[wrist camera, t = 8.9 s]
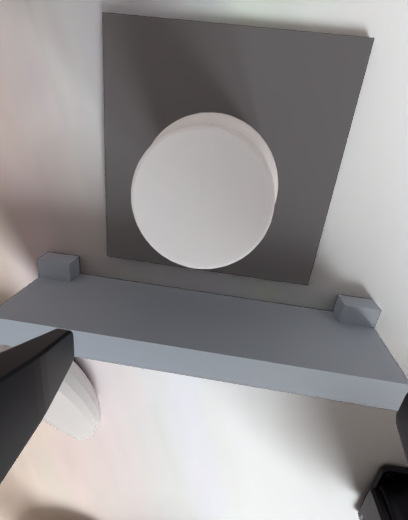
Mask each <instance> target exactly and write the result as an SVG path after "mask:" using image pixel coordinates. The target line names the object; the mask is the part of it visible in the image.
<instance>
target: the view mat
mask: <svg viewBox="0 0 408 520" xmlns="http://www.w3.org/2000/svg"><path fill="white" fill-rule="evenodd" d="M102 14H103V66H104V118H105V170H106V222H107V256H110V257H117V258H124V259H131V260H138V261H145V262H151V263H158V264H165V265H172V266H179V267H186V266H183V265H180V264H177V263H175V262H172V261H170V260H169V259H167V258H166V257H164V256H162V255H161V254H160V253H159V252H157V251H156V250H155V249H154V248H153V247H152V246H151V245H150V244H149V243H148V242H147V240H146V239H145V238H144V236H143V235H142V233H141V231H140V229H139V227H138V226H137V223H136V221H135V218H134V214H133V210H132V205H131V186H132V180H133V176H134V172H135V170H136V167H137V165H138V162H139V161H140V159H141V158H142V156H143V155H144V153H145V152H146V150H147V149H148V148H149V147H150V146H151V144H152V143H153V141H154V140H155V139H156V137H157V136H158V135H159V134H160V133H161V132H162V131H163V130H164V129H165V128H166V127H167V126H169V125H170V124H172V123H173V122H175V121H177V120H179V119H181V118H183V117H186V116H189V115H193V114H197V113H201V112H202V113H204V112H215V113H224V114H228V115H231V116H234V117H236V118H238V119H240V120H242V121H244V122H246V123H247V124H249V125H250V126H251V127H253V128H254V129H255V130H256V131H257V132H258V133H259V134H260V135H261V136H262V138H263V139H264V140H265V142H266V143H267V145H268V147H269V149H270V151H271V153H272V155H273V158H274V161H275V164H276V168H277V174H278V193H277V198H276V202H275V206H274V213H273V216H272V220H271V223H270V226H269V228H268V230H267V232H266V234H265V236H264V237H263V239H262V240H261V241H260V243H259V244H258V245H257V246H256V247H255V248H254V249H253V250H252V251H251V252H250V253H249V254H248V255H246V256H245V257H243V258H242V259H240V260H238V261H236V262H234V263H232V264H230V265H227V266H224V267H219V268H213V269H200V270H206V271H213V272H220V273H227V274H234V275H241V276H248V277H254V278H261V279H268V280H275V281H282V282H289V283H296V284H302V285H308V283H309V279H310V275H311V272H312V268H313V264H314V260H315V257H316V253H317V249H318V246H319V242H320V238H321V235H322V231H323V227H324V223H325V220H326V216H327V212H328V209H329V205H330V201H331V197H332V194H333V190H334V186H335V183H336V179H337V175H338V171H339V168H340V164H341V160H342V157H343V153H344V149H345V145H346V142H347V138H348V134H349V131H350V127H351V123H352V119H353V116H354V112H355V108H356V105H357V101H358V97H359V93H360V90H361V86H362V82H363V79H364V75H365V71H366V67H367V64H368V60H369V56H370V53H371V49H372V45H373V42H374V38H370V37H359V36H348V35H338V34H327V33H317V32H306V31H296V30H285V29H274V28H264V27H253V26H243V25H232V24H222V23H211V22H200V21H190V20H179V19H169V18H158V17H148V16H137V15H126V14H116V13H105V12H102ZM186 268H189V267H186ZM193 269H196V268H193Z"/></svg>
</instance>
